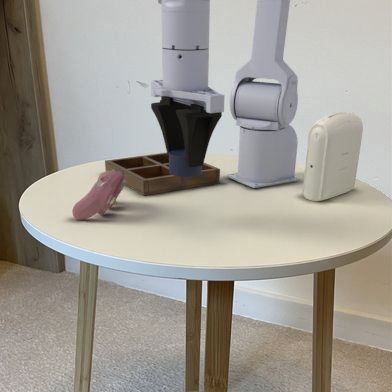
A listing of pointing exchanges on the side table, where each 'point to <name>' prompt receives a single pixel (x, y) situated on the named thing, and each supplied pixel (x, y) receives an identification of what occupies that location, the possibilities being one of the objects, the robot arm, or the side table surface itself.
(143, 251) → the side table surface
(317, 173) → the photo printer
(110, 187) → the pink rounded lump
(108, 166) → the grid
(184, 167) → the round container
